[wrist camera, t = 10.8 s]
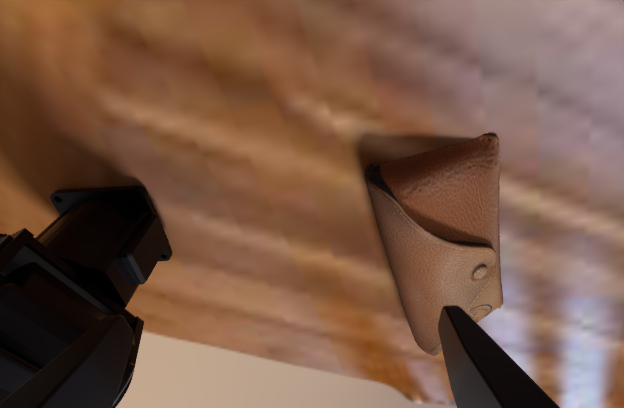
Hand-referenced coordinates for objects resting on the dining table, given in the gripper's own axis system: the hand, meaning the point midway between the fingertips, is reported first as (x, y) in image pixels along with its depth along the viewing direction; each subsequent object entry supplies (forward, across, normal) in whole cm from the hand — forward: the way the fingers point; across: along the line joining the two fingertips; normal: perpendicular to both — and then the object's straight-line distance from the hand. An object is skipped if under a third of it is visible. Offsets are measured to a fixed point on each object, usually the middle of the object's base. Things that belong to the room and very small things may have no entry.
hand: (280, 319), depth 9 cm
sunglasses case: (+14, -10, +10) cm, 20 cm away
